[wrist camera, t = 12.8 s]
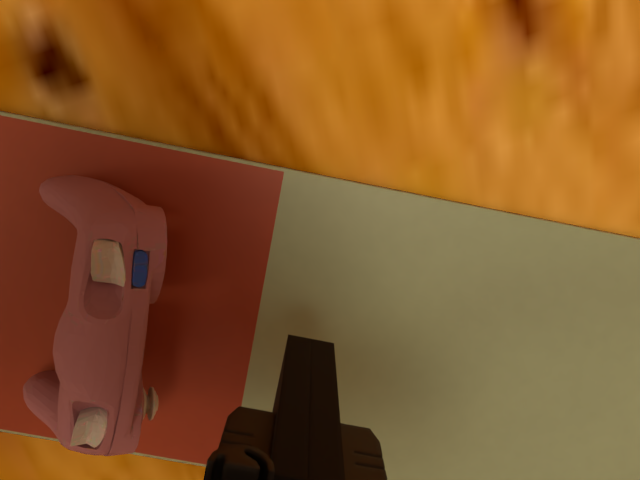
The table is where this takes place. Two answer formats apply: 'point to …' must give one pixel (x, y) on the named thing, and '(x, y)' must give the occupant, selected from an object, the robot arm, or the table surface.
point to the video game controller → (102, 319)
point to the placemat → (341, 310)
